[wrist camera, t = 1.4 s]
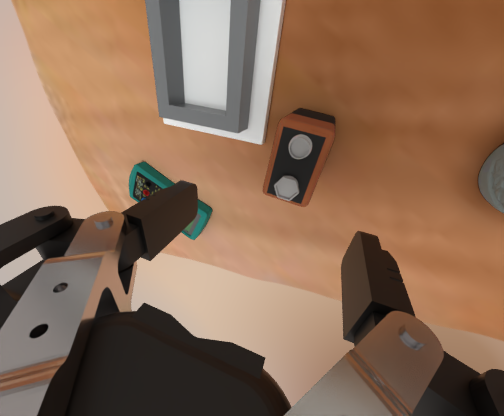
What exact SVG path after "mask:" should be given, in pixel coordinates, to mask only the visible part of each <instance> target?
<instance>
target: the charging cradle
mask: <svg viewBox="0 0 504 416" xmlns="http://www.w3.org/2000/svg"><path fill="white" fill-rule="evenodd" d="M145 3H146V11H147V19H148V28H149V36H150V44H151V52H152V60H153V69H154V77H155V85H156V93H157V101H158V110H159V117H162V118H163V119H164V124H169V125H173V126H178V127H183V128H187V129H192V130H196V131H201V132H205V133H210V134H215V135H219V136H224V137H228V138H233V139H237V140H242V141H247V142H251V143H256V144H260V145H262V144H264V143H265V138H266V131H267V124H268V117H269V111H270V104H271V97H272V91H273V84H274V77H275V71H276V64H277V57H278V50H279V44H280V37H281V30H282V24H283V17H284V10H285V3H286V0H145Z"/></svg>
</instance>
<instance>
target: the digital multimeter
mask: <svg viewBox="0 0 504 416" xmlns="http://www.w3.org/2000/svg"><path fill="white" fill-rule="evenodd" d="M172 185H174V183H173V182H171V181H170V180H169V179H167V178H166V177H165V176H163V175H162V174H160V173H159V172H158V171H156V170H155V169H154V168H152V167H151V166H150V165H148V164H147V163H146V162H141V163H139V164H136V165H134V167H133V169H132V171H131V174H130V178H129V192H130V197H131V198H133V199H134V200H136V201H137V202H140V201H142V200H144V199H146V198H147V197H149V196H150V195H152V194H154V193H155V192H157V191H159V190H161V189H164V188H168V187H171V186H172ZM211 213H212V209H211V208H210V207H209V206H207V205H206V204H204V203H203V202H201V201H200V200H198V212H197V215H196V217H195V219H194V220H193V221H192V222H191V223H190V224H189V225H188V226H187V227H186V228H185V229H184V230H183V231H182V233H183V234H184V235H186V236H187V237H189V238H190V239H192V240H195V239H196V238H197V237H198V236H199V234H200V233H201V232H202V230H203V229H204V227H205V226H206V224H207V222H208V220H209V218H210V215H211Z"/></svg>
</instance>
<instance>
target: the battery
mask: <svg viewBox="0 0 504 416" xmlns="http://www.w3.org/2000/svg"><path fill="white" fill-rule="evenodd" d="M334 139H335V117H334V116H331V115H327V114H323V113H318V112H314V111H310V110H306V109H302V108H299V109H297V110H295V111H294V112H292V113H290V114H289V115H287V116H285V117H284V118H282V119H281V120H280V121H279V123H278V127H277V131H276V135H275V139H274V143H273V147H272V152H271V156H270V160H269V164H268V169H267V173H266V177H265V181H264V186H263V193H264V194H265V195H268V196H271V197H274V198H277V199H280V200H283V201H286V202H289V203H292V204H295V205H298V206H301V207H306V206H307V205H308V204H309V202H310V199H311V197H312V194H313V192H314V189H315V187H316V184H317V182H318V179H319V177H320V174H321V172H322V169H323V167H324V164H325V162H326V159H327V157H328V154H329V152H330V149H331V147H332V144H333V142H334Z"/></svg>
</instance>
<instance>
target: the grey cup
mask: <svg viewBox="0 0 504 416" xmlns="http://www.w3.org/2000/svg"><path fill="white" fill-rule="evenodd" d="M478 185H479V189H480V192H481V194H482V195H483V197H484V198H485V199H486V200H487V201H488V202H489V203H490V204H491V205H492V206H493V207H494V208H496V209H497V210H499V211H500V212H502V213H504V144H503V145H501V146H499V147H498V148H497V149H496V150H494V151H493V153H492V154H491V155H490V156H489V157H488V158H487V160H486V161H485V162H484V164H483V166H482V168H481V170H480V173H479V177H478Z"/></svg>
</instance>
